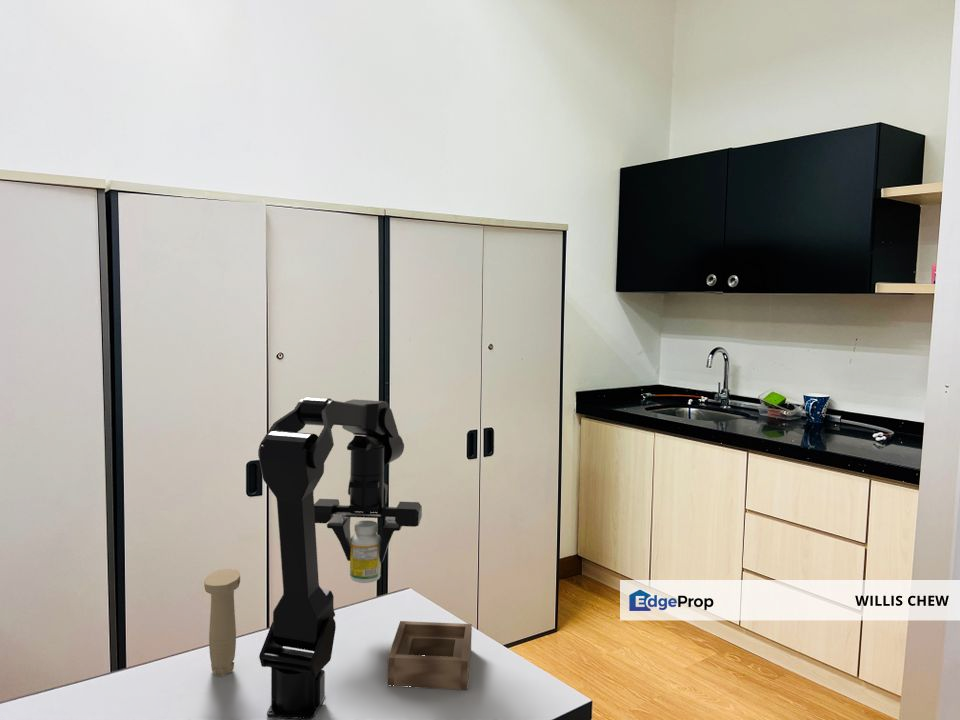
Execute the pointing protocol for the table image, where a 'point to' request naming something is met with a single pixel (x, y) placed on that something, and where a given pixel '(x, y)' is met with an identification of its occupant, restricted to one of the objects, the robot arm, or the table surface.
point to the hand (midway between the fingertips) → (365, 560)
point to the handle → (222, 619)
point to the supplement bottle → (365, 553)
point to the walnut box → (430, 655)
